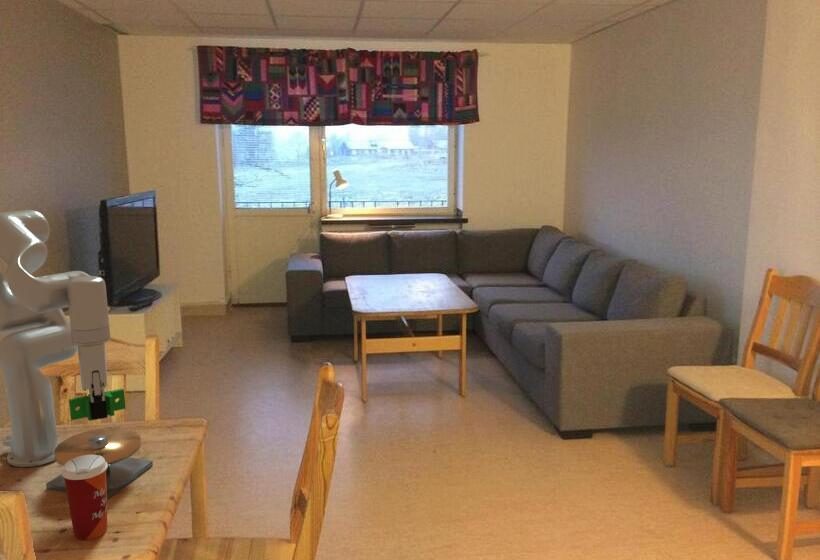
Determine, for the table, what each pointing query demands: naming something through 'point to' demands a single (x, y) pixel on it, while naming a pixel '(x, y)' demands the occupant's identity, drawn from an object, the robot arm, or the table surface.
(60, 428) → the table surface
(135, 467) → the bronze disc on slab
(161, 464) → the table surface
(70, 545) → the table surface
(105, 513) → the coffee cup
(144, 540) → the table surface
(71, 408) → the pipe clamp
